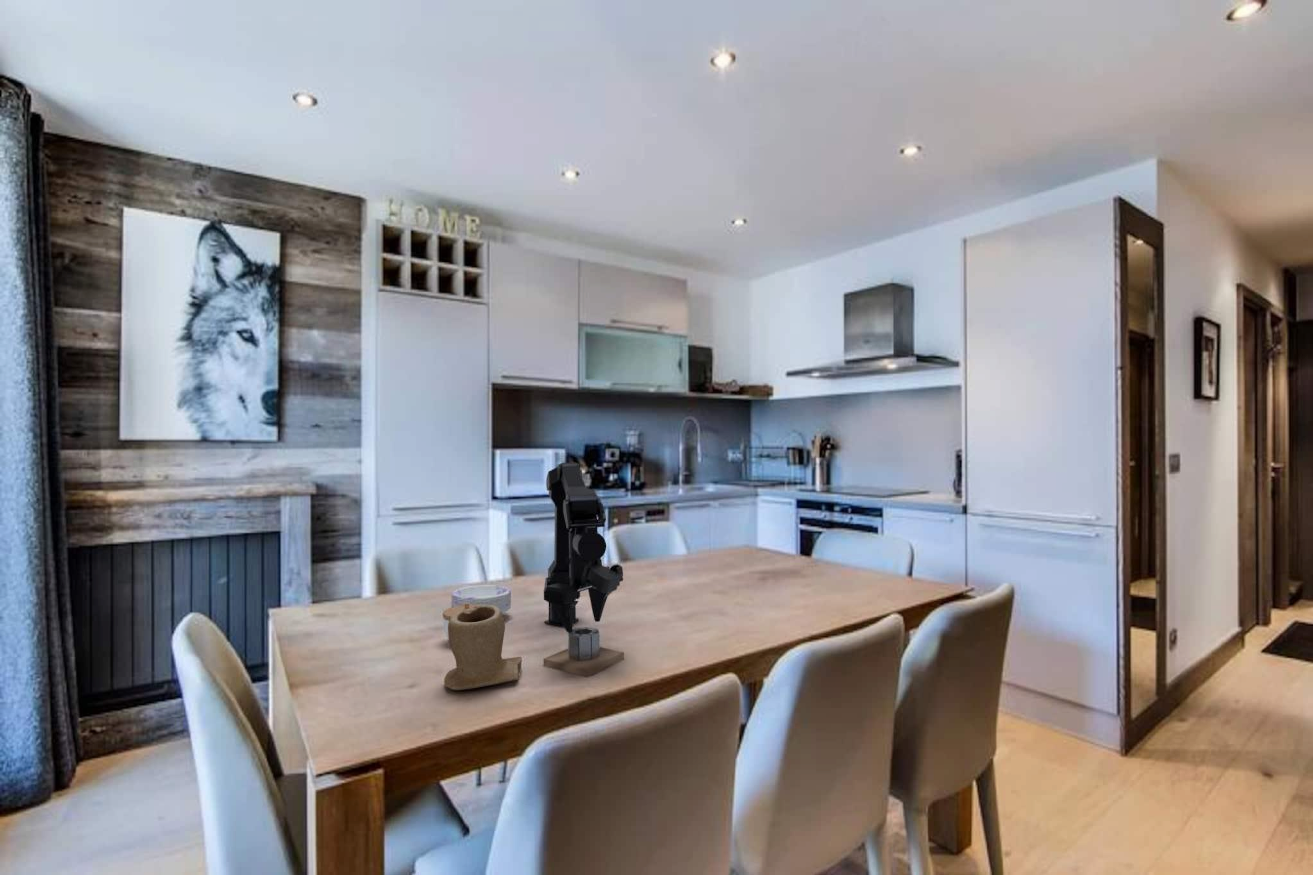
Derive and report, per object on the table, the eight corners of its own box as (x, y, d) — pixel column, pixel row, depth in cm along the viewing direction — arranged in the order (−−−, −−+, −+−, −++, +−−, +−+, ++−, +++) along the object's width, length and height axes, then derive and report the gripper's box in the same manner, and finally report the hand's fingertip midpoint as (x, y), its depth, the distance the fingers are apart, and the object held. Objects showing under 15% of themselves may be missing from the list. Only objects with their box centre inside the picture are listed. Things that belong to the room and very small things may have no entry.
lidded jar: (499, 638, 150) (499, 599, 150) (472, 652, 140) (472, 610, 140) (462, 634, 154) (461, 596, 154) (433, 648, 143) (432, 607, 144)
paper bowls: (523, 617, 168) (523, 587, 168) (479, 632, 155) (479, 600, 155) (483, 609, 176) (483, 581, 176) (439, 623, 164) (438, 592, 164)
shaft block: (543, 665, 131) (543, 639, 131) (580, 649, 141) (580, 625, 141) (588, 677, 124) (587, 649, 124) (623, 658, 135) (623, 633, 135)
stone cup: (445, 701, 114) (444, 619, 114) (443, 678, 125) (442, 603, 125) (529, 689, 119) (528, 610, 119) (521, 668, 130) (520, 596, 130)
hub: (562, 657, 132) (562, 633, 132) (582, 648, 137) (581, 625, 137) (585, 662, 128) (585, 638, 128) (605, 653, 134) (604, 630, 134)
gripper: (584, 564, 121) (585, 645, 120) (639, 549, 136) (640, 621, 136) (541, 558, 127) (542, 636, 126) (598, 545, 142) (599, 614, 142)
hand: (583, 626), depth 133 cm, fingers open, 9 cm apart
